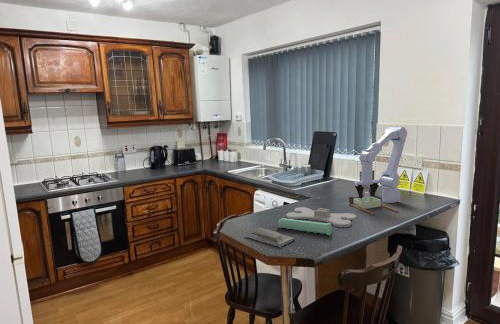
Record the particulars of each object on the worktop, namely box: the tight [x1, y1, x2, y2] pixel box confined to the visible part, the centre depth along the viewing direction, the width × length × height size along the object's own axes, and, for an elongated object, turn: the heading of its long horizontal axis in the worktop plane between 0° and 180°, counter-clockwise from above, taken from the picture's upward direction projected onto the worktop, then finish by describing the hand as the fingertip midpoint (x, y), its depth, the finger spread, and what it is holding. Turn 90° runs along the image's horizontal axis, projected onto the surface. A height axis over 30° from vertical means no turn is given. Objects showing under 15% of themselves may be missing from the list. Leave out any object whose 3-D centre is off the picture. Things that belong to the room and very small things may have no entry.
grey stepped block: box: [251, 227, 295, 245], centre depth 146 cm, size 10×20×4 cm, turn 47°
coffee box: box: [359, 169, 375, 195], centre depth 210 cm, size 9×6×16 cm
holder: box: [285, 206, 358, 228], centre depth 172 cm, size 19×34×5 cm, turn 57°
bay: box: [348, 194, 399, 217], centre depth 183 cm, size 15×24×6 cm, turn 16°
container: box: [277, 217, 333, 236], centre depth 154 cm, size 6×6×25 cm
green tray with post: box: [353, 192, 382, 210], centre depth 186 cm, size 12×8×8 cm, turn 106°
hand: (366, 197), depth 186 cm, fingers open, 7 cm apart
